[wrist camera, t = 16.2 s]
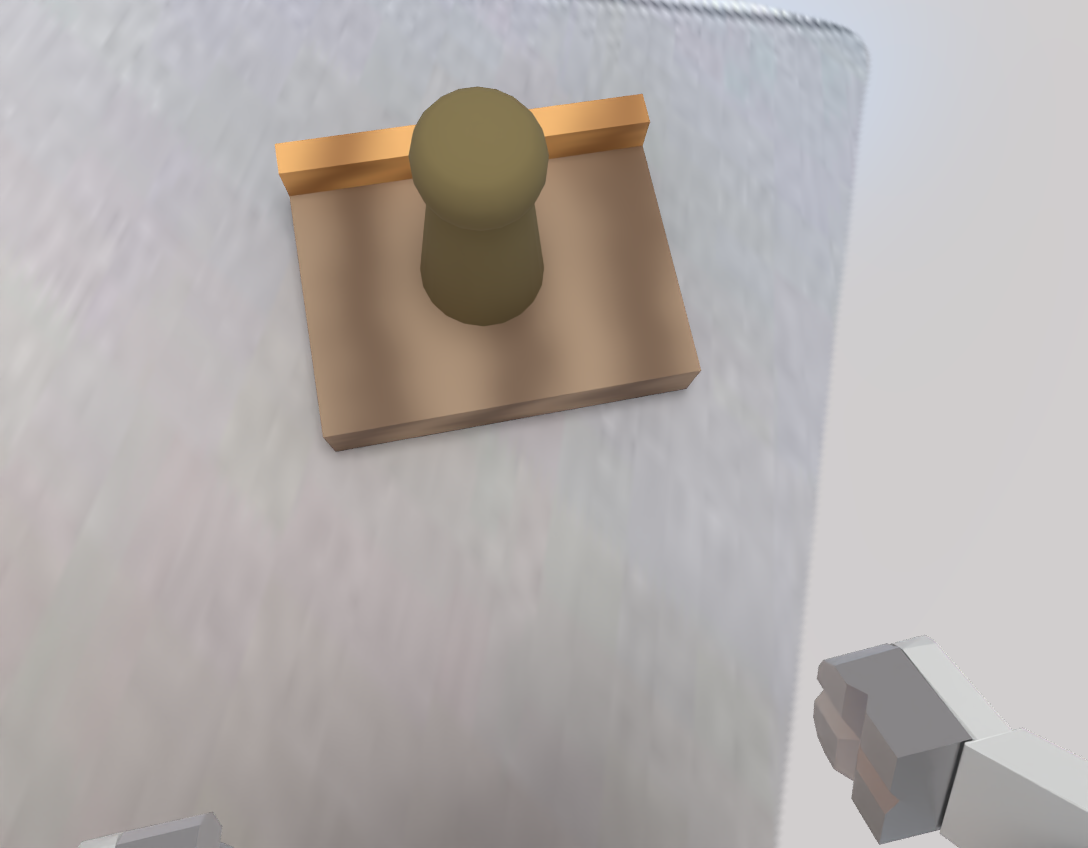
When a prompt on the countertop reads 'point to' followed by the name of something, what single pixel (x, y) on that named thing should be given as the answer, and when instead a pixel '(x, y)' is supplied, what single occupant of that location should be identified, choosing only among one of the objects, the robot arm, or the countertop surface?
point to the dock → (496, 350)
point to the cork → (480, 204)
